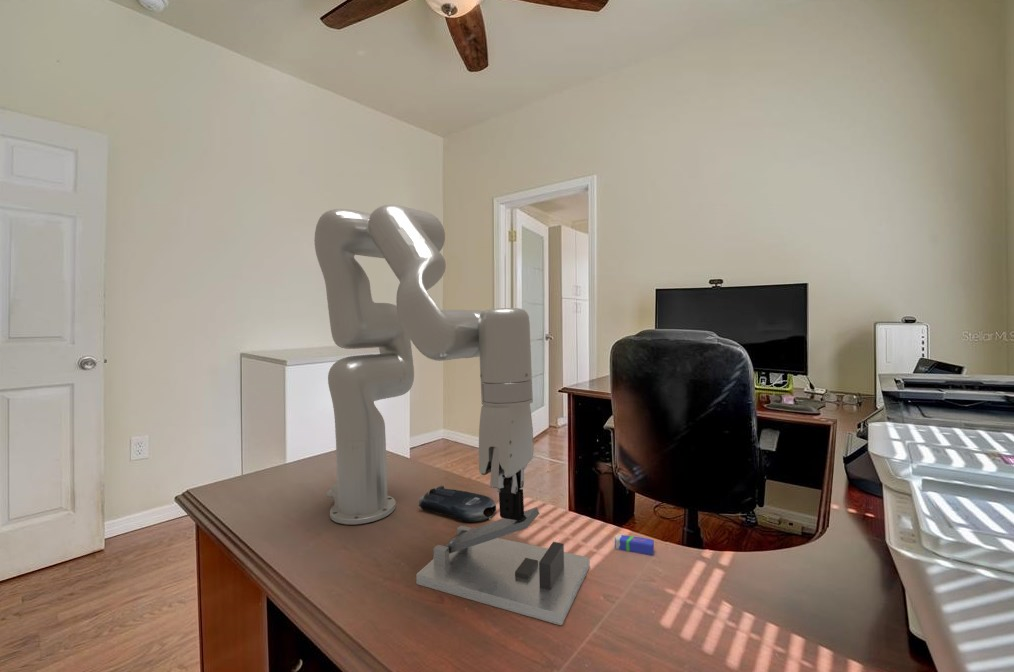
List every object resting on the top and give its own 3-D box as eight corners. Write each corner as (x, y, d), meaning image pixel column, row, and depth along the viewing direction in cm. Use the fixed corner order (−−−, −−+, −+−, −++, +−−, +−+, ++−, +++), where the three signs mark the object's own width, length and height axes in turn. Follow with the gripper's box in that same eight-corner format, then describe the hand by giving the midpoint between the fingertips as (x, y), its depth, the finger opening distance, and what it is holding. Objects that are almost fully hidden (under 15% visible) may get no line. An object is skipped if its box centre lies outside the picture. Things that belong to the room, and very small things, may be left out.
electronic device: (417, 522, 87) (481, 526, 80) (415, 493, 88) (478, 494, 81) (444, 510, 95) (504, 512, 88) (442, 483, 96) (502, 484, 89)
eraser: (616, 544, 74) (616, 532, 74) (653, 551, 71) (653, 539, 71) (614, 550, 72) (614, 538, 72) (652, 557, 70) (652, 545, 69)
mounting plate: (416, 584, 63) (415, 550, 63) (465, 539, 76) (464, 511, 76) (561, 625, 54) (561, 586, 54) (589, 566, 67) (589, 534, 67)
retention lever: (443, 557, 67) (439, 548, 67) (459, 541, 71) (456, 533, 71) (527, 529, 60) (523, 519, 61) (540, 514, 65) (536, 505, 65)
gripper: (505, 385, 72) (509, 495, 72) (458, 400, 59) (464, 535, 59) (547, 386, 69) (552, 501, 69) (509, 402, 55) (515, 545, 56)
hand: (512, 516), depth 64 cm, fingers closed
